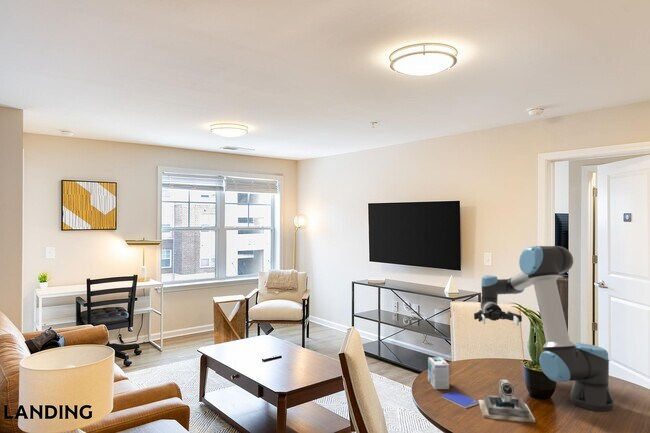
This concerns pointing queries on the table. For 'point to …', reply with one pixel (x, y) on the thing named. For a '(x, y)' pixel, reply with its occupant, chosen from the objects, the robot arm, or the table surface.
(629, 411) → the table surface
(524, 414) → the fitting base
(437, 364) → the light bulb box
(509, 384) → the watch
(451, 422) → the table surface
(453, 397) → the hard drive
